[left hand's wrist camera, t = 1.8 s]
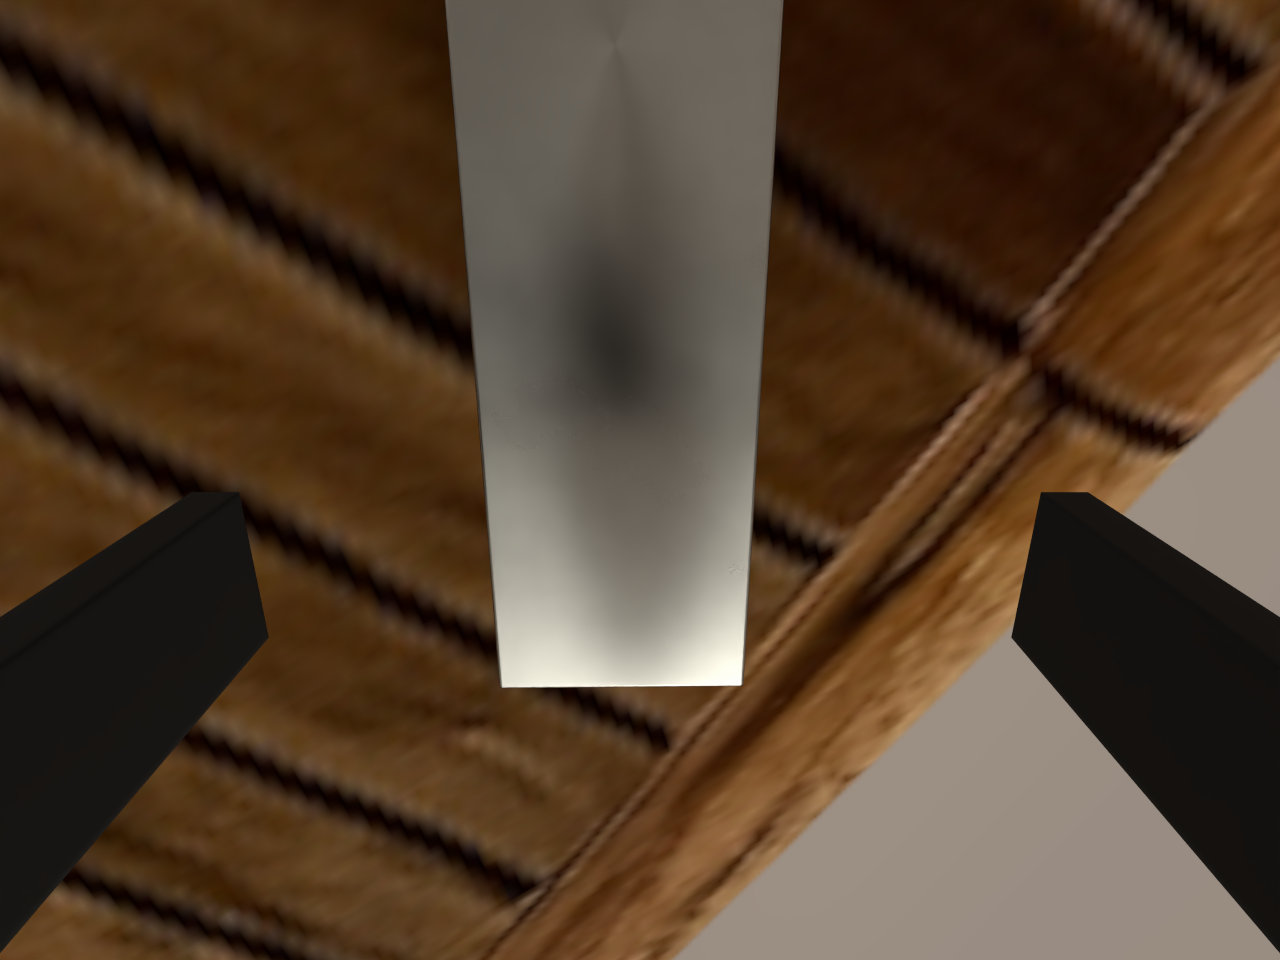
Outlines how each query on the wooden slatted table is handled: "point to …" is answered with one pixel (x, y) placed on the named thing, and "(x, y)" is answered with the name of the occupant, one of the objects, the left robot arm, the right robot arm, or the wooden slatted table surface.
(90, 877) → the wooden slatted table surface
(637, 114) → the bar
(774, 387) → the wooden slatted table surface
